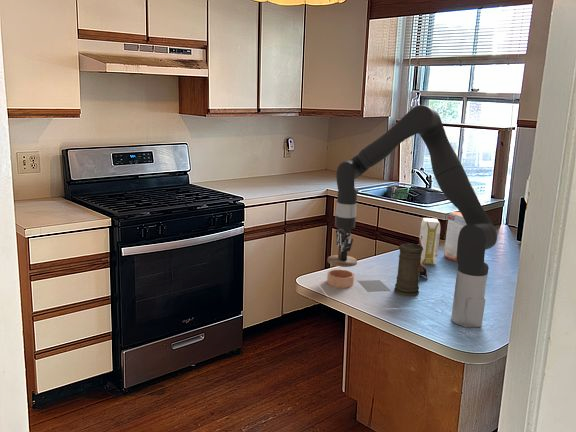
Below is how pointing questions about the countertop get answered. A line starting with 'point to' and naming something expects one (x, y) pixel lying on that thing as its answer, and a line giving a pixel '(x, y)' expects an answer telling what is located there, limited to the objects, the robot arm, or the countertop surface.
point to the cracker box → (453, 234)
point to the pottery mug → (423, 271)
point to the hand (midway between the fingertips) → (342, 259)
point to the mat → (374, 285)
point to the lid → (337, 261)
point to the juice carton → (429, 240)
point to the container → (408, 269)
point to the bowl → (340, 278)
